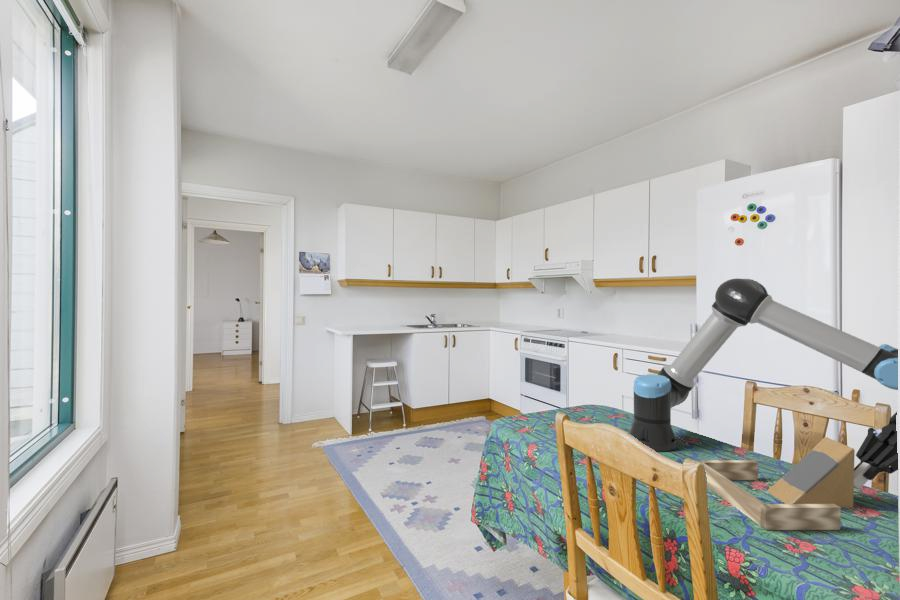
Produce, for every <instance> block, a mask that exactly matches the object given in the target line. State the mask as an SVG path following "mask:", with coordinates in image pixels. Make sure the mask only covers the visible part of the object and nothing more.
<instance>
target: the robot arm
mask: <svg viewBox="0 0 900 600" xmlns="http://www.w3.org/2000/svg"><path fill="white" fill-rule="evenodd" d="M714 297H715V300H714V302H713V304H711V310H712V313H711V314H710V315H709V316H708V318H707V319H706V320H705V322H704V323H703V324H702V325H701V326H700V328H699V329H698V330H697V331H696V333H695V334H694V336H692V338H691V339H690V340H689V341H688V343H687V344H686V345H685V347H684V348H683V350H682V351H681V352H680V353H679V354H678V355H677V356H676V357H675V359H674V361H672V363H671V364H665V365H664V366H662V368H661V369H660V371H659V372H658V373H657V374H654V373H653V374H650V373H649V374H642V375H639V376H637V377H636V378H635V379H634V382H633V388H632V389H633V421H632V423H631V426H630V430H629V432H628V434H629V433H630V434H631V435H633V436H634V437H635V438H637V439H638V440H639V441H641V442H642V443H643V444H645V445H647V446H649V447H650V448H652V449H654V450H655V451H654V452H671V451H674V450H676V449H677V439H676V436H675V433H674V431H673V427H672V424H671V421H672V420H671V416H672V415H671V413H672V412H671V411H672V410H671V409H672V408H673V407H675V406H678V405H680V404H683V403H684V402H685V401H686V399H687V398H688V396H689V394H690V392H691V391H692V389H694V387H695V386H696V384H695V381H694V380H695V378H696V377H697V376H699V374H700V373H701V371H703V369H704V367H706V366H707V364H708V363H709V362H710V361H711V359H712V358H713V357H714V356H715V355H716V354H717V352H718V351H719V350H720V349H721V348H722V346H723V345H724V344H725V343H726V342H727V341H728V339H729V338H730V337H731V336H732V335H733V333H734V332H735V331H736V330H737V329H738V328H740V327H746V326H747V325H748V324H760V325H761V326H764V327H765V328H767V329H770V330H772V331H774V332H776V333H779V334H780V335H783V336H784V337H786V338H789V339H790V340H793V341H795V342H797V343H799V344H802V345H804V346H806V347H808V348H809V349H812V350H813V351H816V352H819V353H821V354H823V355H824V356H827V357H828V358H831V359H833V360H835V361H837V362H839V363H841V364H843V365H845V366H848V367H850V368H852V369H854V370H856V371H858V372H860V373H862V374H864V375H866V376H867V377H870V378H872V379H874V380H876V381H877V382H878V383H879V384H880V385H883V386H884V387H886V388H887V389H890V390H895V391H899V390H898V349H899V348H897V347H896V348H895V347H894V346H891V345H889V344H887V343H882V344H880V345H879V346H877V345H875V344H872V343H871V342H868V341H866V340H864V339H861V338H859V337H857V336H855V335H852V334H850V333H848V332H846V331H843V330H841V329H839V328H836V327H834V326H832V325H829V324H827V323H825V322H823V321H820V320H818V319H816V318H814V317H811V316H809V315H807V314H804V313H803V312H800V311H798V310H795V309H793V308H791V307H789V306H786V305H784V304H782V303H780V302H778V301H774V299H773V297H772V295H770V294H769V293H768V290H767V288H766V287H765V286H764V285H763V284H761V283H760V282H758V281H757V280H754V279H751V278H732V279H728V280H726V281H724V282H723V283H721V284H720V285H719V286H718V287H717V289H716V290H715V296H714ZM896 415H897V411H896V412H895V413H894V414H893V415H892V416H891V417H890V418H889V423H888V424H887V425H884V426H883V427H882V428H880V429H879V428H878V429H874V428H873V427H869V428H868V429H867V434H866V436H865V438H864V440H863V441H862V444H861V446H860V447H859V449H858V451H857V452H856V453H855V456H856V457H857V459H859V461H860V462H859V463H858V464H857V465H856V466H854V489H856V490H860V489H861V488H862V487H863V486H864V485H866V483H867V482H868V481H872V480H874V479H875V478H876V477H877V475H878V474H880V473H883V472H886V473H887V474H893V473H895V472H896V471H898V470H899V469H898V453H897V431H896Z"/></svg>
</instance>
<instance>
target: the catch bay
mask: <svg viewBox="0 0 900 600" xmlns="http://www.w3.org/2000/svg"><path fill="white" fill-rule="evenodd" d="M696 461H697V462H700V463H702V464H704V467H705V472H706V477H707V486H706V487H707V488H709V489H710V490H711V491H713V492H714V494H717V495H718V496H719V497H720V498H721V499H723V500H725V501H726V502H728V503H729V504H730V505H731V506H733V507H734V508H735V507H736V508H735V509H737V510H738V511H739V510H740V512H741V513H742V514H743V515H744V516H746V517H747V518H749V519H750V520H752V521H753V522H754V523H756V524H757V525H758V526H760V528H762V529H764V530H765V531H817V530H818V531H824V530H826V531H827V530H829V531H834V530H835V531H838V530H839V531H841V526H842V525H841V523H842V522H841V519H842V517H841V510H842V508H841V507H839V506H837V505H835V504H785V503H774V504H773V503H772V504H771V503H770V504H769V503H768V504H767V503H764V501H762V500H760V499H758V498H757V497H756V496H754V495H753V494H752V493H750V492H749V491H747V490H745V489H744V488H742V487H741V486H739V485H738V484H736V483H735V482H733V481H758V480H759V462H758V461H756V460H754V459H740V460H739V459H734V460H733V459H731V460H729V459H723V460H722V459H720V460H719V459H717V460H716V459H712V460H710V459H709V460H708V459H707V460H705V459H704V460H703V459H702V460H701V459H700V460H695V462H696Z"/></svg>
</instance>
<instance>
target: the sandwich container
mask: <svg viewBox="0 0 900 600" xmlns="http://www.w3.org/2000/svg"><path fill="white" fill-rule="evenodd" d="M855 451H856V450H855V448H853V447H852V446H851V447H850V446H849V445H846V444H843V443H842V442H840V441H837V440H835V439H832V438H830V437H827V436H825V437H823V438H822V439H820V441H819V442H818V443H817V444H816V445H815V446H813V448H811V450H809V452H808V453H807V454H806V455H805V456H804V457H803V458H801V459H800V460H799V461H798V462H797V463H796V464H795V465H794V466H793V467H792V468H791V469H789V470H788V472H786V473H785V474H784V475H783V476H782V477H780V479H778V481H776V482H775V483H774V484H773V485H771V486H770V487H769V488H768V489H767V490H766V492H767V493H768V494H770V495H772V496H773V497H774V498H776V499H777V498H778V499H777V500H779V501H780V500H781V502H782V503H783V502H784V503H783V504H835V505H837V506H839V507H841V509H844V508H845V509H847V508H848V509H853V508H854V493H855V491H854V490H855V488H854V468H855V454H856V453H855Z"/></svg>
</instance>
